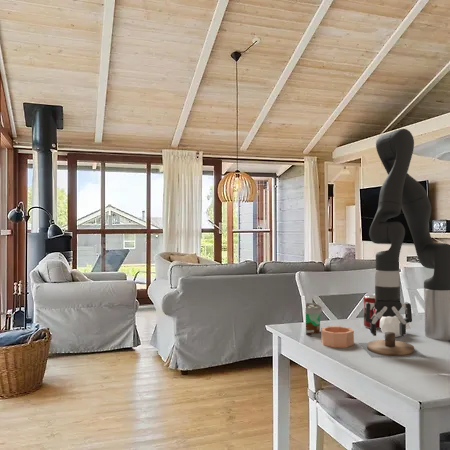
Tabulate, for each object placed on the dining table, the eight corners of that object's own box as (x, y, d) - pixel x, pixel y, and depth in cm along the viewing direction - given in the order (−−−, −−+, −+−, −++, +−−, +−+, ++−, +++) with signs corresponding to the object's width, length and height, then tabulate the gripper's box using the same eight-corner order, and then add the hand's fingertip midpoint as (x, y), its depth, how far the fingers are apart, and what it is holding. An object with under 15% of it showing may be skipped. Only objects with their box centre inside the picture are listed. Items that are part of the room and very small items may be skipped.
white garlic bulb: (395, 336, 148) (419, 336, 154) (390, 309, 151) (414, 310, 157) (376, 339, 156) (400, 339, 161) (372, 313, 159) (395, 314, 164)
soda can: (385, 326, 172) (384, 295, 172) (381, 330, 166) (380, 298, 166) (366, 324, 176) (365, 294, 176) (361, 328, 170) (361, 297, 170)
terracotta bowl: (349, 340, 152) (348, 326, 152) (356, 348, 142) (355, 333, 142) (320, 340, 152) (319, 326, 152) (324, 348, 142) (324, 333, 142)
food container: (323, 336, 159) (322, 308, 159) (306, 335, 160) (305, 308, 160) (322, 328, 171) (321, 302, 171) (306, 327, 172) (306, 302, 172)
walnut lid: (404, 343, 145) (404, 327, 145) (421, 355, 131) (421, 338, 131) (362, 343, 145) (361, 328, 145) (374, 356, 131) (373, 338, 132)
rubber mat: (406, 344, 146) (406, 342, 146) (426, 358, 130) (426, 356, 130) (358, 344, 147) (358, 342, 147) (371, 358, 131) (371, 357, 131)
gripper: (406, 283, 142) (406, 332, 142) (361, 282, 143) (362, 332, 143) (414, 286, 134) (415, 338, 134) (367, 285, 135) (368, 338, 135)
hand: (387, 335), depth 138 cm, fingers open, 8 cm apart
